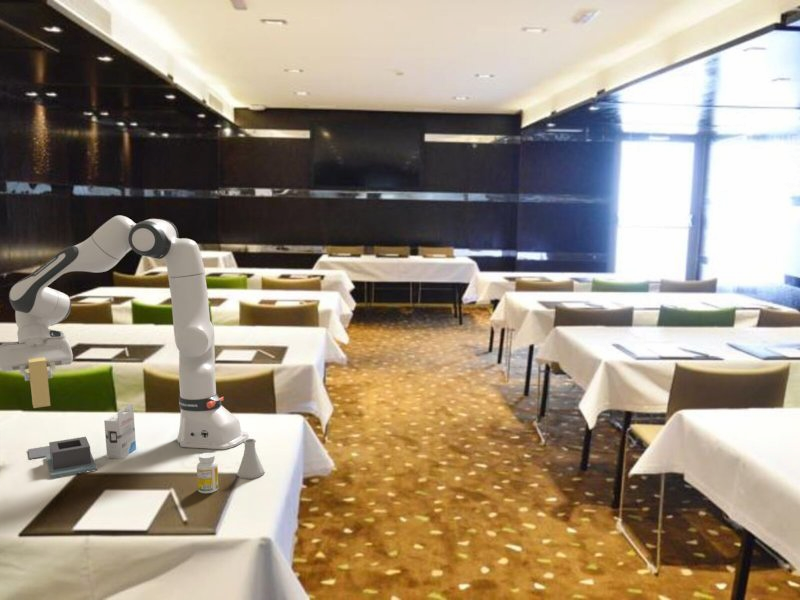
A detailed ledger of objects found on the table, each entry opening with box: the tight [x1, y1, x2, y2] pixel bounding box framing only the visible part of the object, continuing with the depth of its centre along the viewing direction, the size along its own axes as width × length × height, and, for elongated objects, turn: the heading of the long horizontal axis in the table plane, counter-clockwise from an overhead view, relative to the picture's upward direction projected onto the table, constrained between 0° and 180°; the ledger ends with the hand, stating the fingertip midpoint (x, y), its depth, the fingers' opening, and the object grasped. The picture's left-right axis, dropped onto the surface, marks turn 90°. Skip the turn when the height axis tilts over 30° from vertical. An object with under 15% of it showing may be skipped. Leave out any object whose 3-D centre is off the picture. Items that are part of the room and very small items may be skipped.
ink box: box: [104, 403, 137, 460], centre depth 227 cm, size 8×5×15 cm, turn 168°
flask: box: [236, 438, 266, 480], centre depth 210 cm, size 7×7×10 cm
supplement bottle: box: [196, 452, 219, 494], centre depth 199 cm, size 5×5×10 cm
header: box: [48, 436, 92, 470], centre depth 219 cm, size 10×10×5 cm
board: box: [45, 453, 98, 479], centre depth 220 cm, size 18×12×1 cm, turn 29°
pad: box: [27, 445, 50, 460], centre depth 230 cm, size 9×9×1 cm
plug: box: [28, 357, 51, 409], centre depth 226 cm, size 5×5×14 cm
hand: (38, 378), depth 225 cm, fingers closed on plug, 5 cm apart
